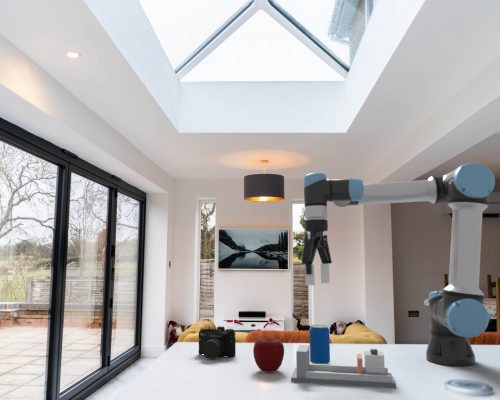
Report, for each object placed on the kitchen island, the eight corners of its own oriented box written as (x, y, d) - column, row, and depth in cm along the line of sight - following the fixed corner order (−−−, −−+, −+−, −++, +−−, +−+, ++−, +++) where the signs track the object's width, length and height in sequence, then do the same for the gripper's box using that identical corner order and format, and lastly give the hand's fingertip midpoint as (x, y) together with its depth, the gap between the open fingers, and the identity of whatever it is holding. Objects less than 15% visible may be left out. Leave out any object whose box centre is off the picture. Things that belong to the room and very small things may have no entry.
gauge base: (391, 377, 127) (390, 348, 128) (396, 388, 116) (394, 356, 117) (295, 372, 132) (294, 344, 134) (291, 382, 122) (290, 351, 123)
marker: (361, 371, 127) (361, 354, 127) (362, 377, 120) (362, 358, 121) (357, 371, 127) (356, 353, 127) (358, 377, 121) (357, 358, 121)
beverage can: (329, 366, 139) (329, 327, 141) (309, 365, 141) (308, 327, 142) (330, 361, 146) (329, 324, 147) (310, 360, 147) (310, 324, 149)
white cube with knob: (383, 373, 125) (382, 348, 126) (385, 378, 120) (383, 352, 121) (364, 372, 126) (364, 347, 127) (366, 377, 121) (365, 351, 122)
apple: (274, 377, 127) (274, 341, 128) (247, 372, 132) (247, 338, 133) (289, 370, 135) (289, 336, 136) (263, 366, 140) (262, 333, 141)
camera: (188, 358, 150) (188, 328, 152) (202, 352, 160) (203, 324, 161) (224, 362, 145) (225, 331, 146) (237, 355, 155) (237, 326, 156)
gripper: (319, 222, 158) (320, 281, 156) (290, 217, 137) (291, 285, 134) (339, 221, 155) (341, 282, 152) (312, 215, 133) (314, 286, 130)
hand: (318, 284), depth 143 cm, fingers open, 13 cm apart
